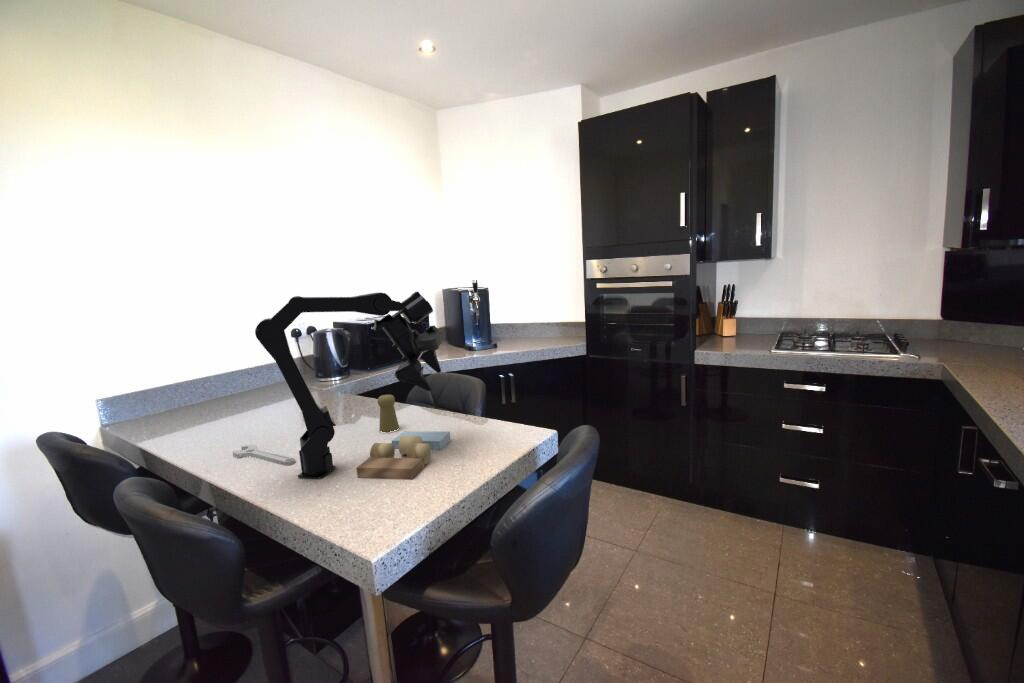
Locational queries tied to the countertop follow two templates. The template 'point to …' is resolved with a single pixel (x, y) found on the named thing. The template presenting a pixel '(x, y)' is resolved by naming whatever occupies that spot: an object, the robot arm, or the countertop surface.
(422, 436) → the light blue block
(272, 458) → the adjustable wrench
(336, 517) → the countertop surface
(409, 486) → the countertop surface
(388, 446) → the wooden tray with rolls
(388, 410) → the cork
